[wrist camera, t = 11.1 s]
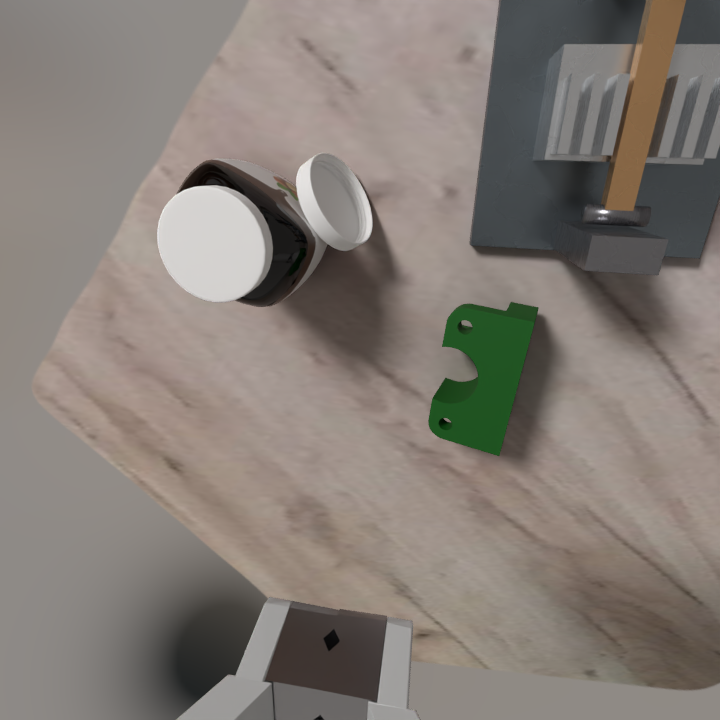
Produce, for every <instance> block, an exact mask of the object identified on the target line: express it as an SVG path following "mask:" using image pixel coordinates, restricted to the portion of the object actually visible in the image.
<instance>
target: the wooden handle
mask: <svg viewBox="0 0 720 720" xmlns="http://www.w3.org/2000/svg"><path fill="white" fill-rule="evenodd" d="M685 3H686V0H646V3H645V8H644V12H643V17H642V21H641V26H640V30H639V35H638V39H637V44H636V48H635V53H634V57H633V61H632V66H631V70H630V74H631V75H630V79H629V84H628V88H627V93H626V97H625V102H624V106H623V110H622V115H621V119H620V124H619V128H618V133H617V137H616V141H615V146H614V150H613V155H611V160H610V164H609V169H608V173H607V178H606V182H605V187H604V191H603V196H602V200H601V204H585V205H584V206H583V208H582V212H581V218H580V221H581V224H593V225H613V226H633V227H646V226H647V224H648V223H649V221H650V217H651V208H650V207H649V206H635V202H636V198H637V194H638V190H639V186H640V182H641V178H642V174H643V170H644V166H645V162H646V158H647V154H648V150H649V146H650V142H651V138H652V134H653V130H654V126H655V123H656V119H657V115H658V111H659V107H660V103H661V99H662V95H663V91H664V87H665V83H666V79H667V75H668V71H669V67H670V63H671V59H672V55H673V51H674V47H675V43H676V39H677V35H678V31H679V27H680V23H681V19H682V15H683V11H684V7H685Z"/></svg>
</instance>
